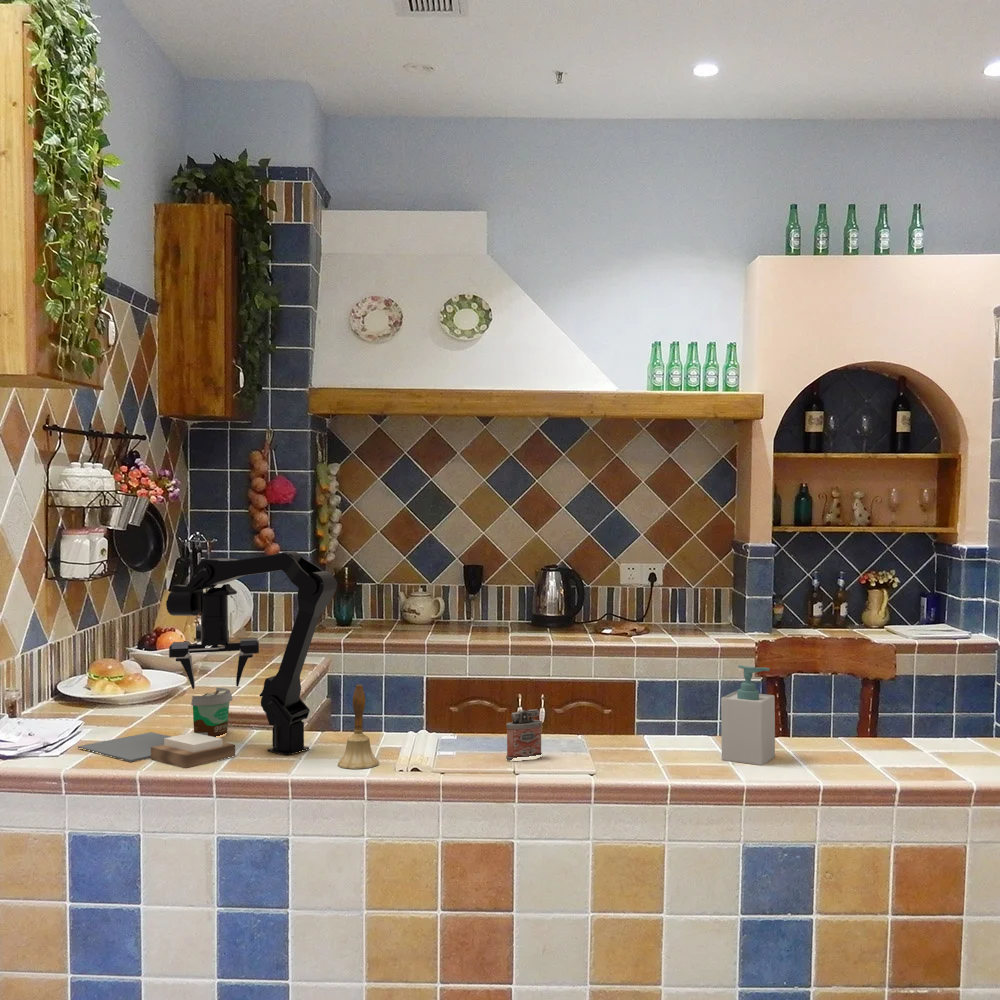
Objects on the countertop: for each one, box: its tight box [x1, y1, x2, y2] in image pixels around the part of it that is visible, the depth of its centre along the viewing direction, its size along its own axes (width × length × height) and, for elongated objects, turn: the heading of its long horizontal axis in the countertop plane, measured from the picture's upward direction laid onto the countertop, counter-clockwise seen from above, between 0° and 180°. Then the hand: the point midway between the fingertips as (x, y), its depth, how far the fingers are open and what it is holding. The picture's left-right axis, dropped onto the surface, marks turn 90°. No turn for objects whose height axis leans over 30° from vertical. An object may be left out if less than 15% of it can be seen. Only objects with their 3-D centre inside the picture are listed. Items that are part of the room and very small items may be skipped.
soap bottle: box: [720, 665, 776, 766], centre depth 205 cm, size 9×9×19 cm
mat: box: [77, 731, 172, 763], centre depth 215 cm, size 20×18×1 cm
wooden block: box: [150, 741, 236, 769], centre depth 206 cm, size 12×12×2 cm
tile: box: [164, 732, 223, 752], centre depth 206 cm, size 10×7×2 cm
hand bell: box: [337, 684, 380, 770], centre depth 201 cm, size 8×8×16 cm
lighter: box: [505, 709, 543, 760], centre depth 205 cm, size 8×3×10 cm, turn 117°
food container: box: [190, 687, 233, 737], centre depth 227 cm, size 12×6×10 cm, turn 168°
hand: (215, 687), depth 217 cm, fingers open, 9 cm apart
